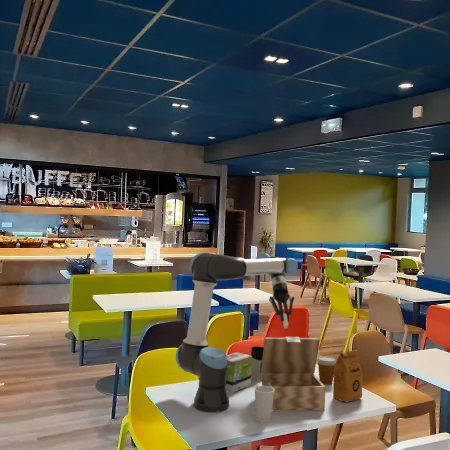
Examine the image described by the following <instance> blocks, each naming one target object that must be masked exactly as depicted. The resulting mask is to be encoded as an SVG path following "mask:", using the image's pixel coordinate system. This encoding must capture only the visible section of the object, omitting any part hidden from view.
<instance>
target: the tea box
mask: <svg viewBox="0 0 450 450" xmlns="http://www.w3.org/2000/svg"><path fill="white" fill-rule="evenodd" d="M226 356H227V371H226V391H227V393H232V394H233V393H235V392H237V391H239V390H243V389H245V388H247V387H250V386H251V385H252V384H251V383H252V379H251V370H252V356H251V354H250V355H249V354H245V353H241V352H239V351H238V352H237V351H236V352H235V351H234V352H233V353H230V354H226Z"/></svg>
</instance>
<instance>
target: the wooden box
mask: <svg viewBox="0 0 450 450" xmlns="http://www.w3.org/2000/svg"><path fill="white" fill-rule="evenodd" d="M261 386H269V387H272V388H274V397H273V406H272V412H273V411H274V412H275V411H279V412H280V411H284V412H285V411H292V412H293V411H325V410H326V409H325V408H326V386H325V384H322V383H321V381H320V380H319V377H317V376H316V375H315V373H262V380H261Z"/></svg>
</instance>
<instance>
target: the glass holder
mask: <svg viewBox="0 0 450 450" xmlns="http://www.w3.org/2000/svg"><path fill="white" fill-rule="evenodd" d="M250 349H251V351H250V356H252V370H251V381H252V380H253V381H262V373H261V367H262V358H263V350H264V346H259V345H257V346H252V347H251V348H250Z"/></svg>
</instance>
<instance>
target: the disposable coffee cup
mask: <svg viewBox="0 0 450 450" xmlns="http://www.w3.org/2000/svg"><path fill="white" fill-rule="evenodd" d="M336 361H337V359H336V358H334V357H332V356H327V355H326V356H323V355H322V356H319V357H318V356H317V360H316V362H317V365H318V366H317V367H318V376H319V377H318V379H319V380H320V381H321V383H322V384H323V385H333V380H334V368H335V363H336Z"/></svg>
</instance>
